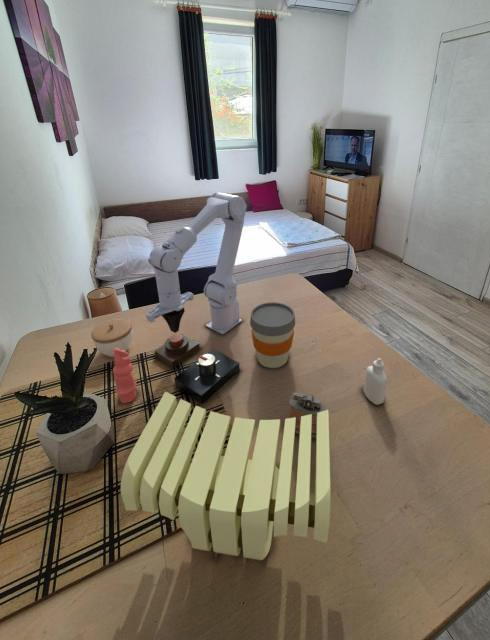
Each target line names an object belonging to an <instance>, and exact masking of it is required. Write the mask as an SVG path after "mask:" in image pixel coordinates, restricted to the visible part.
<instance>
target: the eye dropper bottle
mask: <svg viewBox="0 0 490 640" xmlns="http://www.w3.org/2000/svg"><path fill="white" fill-rule="evenodd" d="M384 366H385V364H384V362H383V361H382V358H381V357H378V358H377V359H375V360H374V361H373V363H372V365H369V366H367V367H366V370H365V377H364V383H363V388H362V389H363V394H364V395H365V397H366V398H367V399H368V400H369V401H370V402H371V403H372V404H374V405H376V406H378V405H381V404H384V402H385V396H386V392H387V385H388V378H387V375H386V374H385V372H384Z"/></svg>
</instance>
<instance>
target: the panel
mask: <svg viewBox="0 0 490 640" xmlns="http://www.w3.org/2000/svg"><path fill="white" fill-rule="evenodd" d="M206 354H211V355H213V356H214V357H215V361H216V371H215V373H214V374H212V375H210V376H203V375H201V374H200V372H199V364H198V360H196V361H195V362H194V363H192V364H191V365H190V366H188V367H187V368H186V369H184V370H183V371H181V372H180V373H179V374H177V375H176V376H175V377H173V379H174V385H175V387H176V389H178V390H179V391H181V392H183V393H184V394H185V395H187V396H189V397H190V398H192V399H193V400H194V401H196V402H198V403H199V404H200V405H202V406H203V405H204V404H205V403H206V402H207V401H208V400H209V399H211V398H212V397H213V396H214V395H215V394H216V393H217V392H219V390H221V389H222V388H223V387H224V386H225V385H226V384H228V383H229V382H230V381H231V380H232V379H233V378H234V377H235V376H236V375H237V374H239V373H240V371H241V370H240V362H239V361H236V360H235V359H233V358H231V357H229V356H227V355H225V354H224V353H222V352H220V351H218V350H216V349H214V348H212V349H211V350H210V351H208V352H207V353H206Z"/></svg>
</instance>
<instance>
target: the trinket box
mask: <svg viewBox="0 0 490 640" xmlns="http://www.w3.org/2000/svg"><path fill="white" fill-rule="evenodd" d="M133 333H134V332H133V326H132V323H131V321H130V320H129V319H126V318H112V319H108V320H105V321H103V322H100V323H99V324H97V325H96V326H95V327H94V328H93V329H92V331H91V333H90V335H91V339H92V341H93V344H94V347H95V349H96V350H97V351H98V352H99V353H101V354H102V355H104V356H107V357H109V358H110V357H111V358H114V349H115V348H118V349H119V350H123V351H126V352H127V351H128V349H129V348H130V346H131V344H132V342H133V336H134V335H133Z"/></svg>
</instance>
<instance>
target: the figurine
mask: <svg viewBox="0 0 490 640" xmlns="http://www.w3.org/2000/svg"><path fill="white" fill-rule="evenodd" d="M128 355H130V353H129V352H128V351H127V350H126V351H123V350H119V349H118V348H115V349H114V357H113V360H114V366H113V368H112V374H113V375H114V376H113V380H114V383H115V388H114V392H115V394H117V396H118V399H119V402H120V403H124V404H128V403H130V402H132V401H134V400H135V398H136V397H137V391H136V387H137V384H138V383H137V381H136V380H135V379H134V376H133V373H132V371H133V369H134V366H133V363H132V361H131V359H130V357H128Z"/></svg>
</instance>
